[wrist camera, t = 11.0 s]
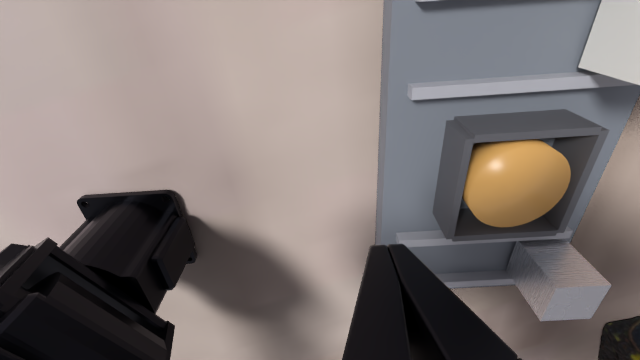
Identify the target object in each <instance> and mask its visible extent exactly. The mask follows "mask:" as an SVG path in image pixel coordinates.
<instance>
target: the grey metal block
mask: <svg viewBox="0 0 640 360" xmlns="http://www.w3.org/2000/svg"><path fill="white" fill-rule="evenodd" d="M506 271H507V273H508V274H509V276H510V277H511V279H512V280H513V282H514V283H515V285H516V286H517V287H518V289H519V290H520V292H521V293H522V295H523V296H524V298H525V299H526V301H527V302H528V304H529V305H530V307H531V308H532V310H533V311H534V313H535V314H536V315H537V317H538V318H539V320H540V321H555V320H575V319H591V318H592V316H593V314H594V313H595V311H596V310H597V308H598V306H599V305H600V303H601V301H602V300H603V298H604V297H605V295H606V293H607V292H608V290H609V289H610V287H611V284H610V283H609V282H608V281H607V280H606V279H605V278H604V277H603V276H602V275H601V274H600V273H599V272H598V271H597V270H596V269H595V268H594V267H593V266H592V265H591V264H590V263H589V262H588V261H587V260H586V259H585V258H584V257H583V256H582V255H581V254H580V253H579V252H578V251H577V250H576V249H575V248H574V247H573V246H572V245H571V244H570V243H569V242H568V241H567V240H566V239H565V238H563V239H545V240H528V241H516V243H515V246H514V249H513V252H512V255H511V258H510V261H509V263H508V266H507V269H506Z"/></svg>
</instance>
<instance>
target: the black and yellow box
mask: <svg viewBox="0 0 640 360" xmlns="http://www.w3.org/2000/svg"><path fill="white" fill-rule="evenodd" d="M601 341H602V343H601V346H600V348H601V349H600V352H599V353H600V355H599V360H640V317H636V318H633V319H628V320H622V321H616V322H611V323H608V324H606V325H605V327H604V329H603V335H602V337H601Z"/></svg>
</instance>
